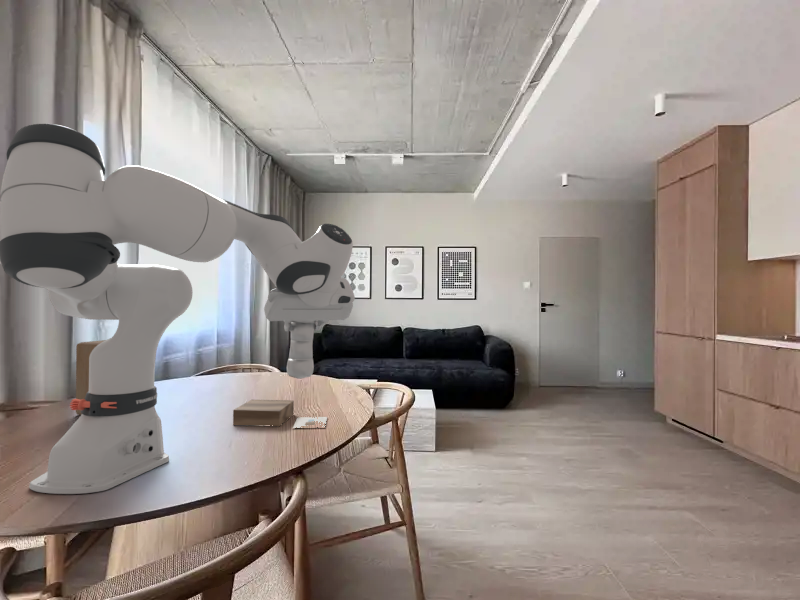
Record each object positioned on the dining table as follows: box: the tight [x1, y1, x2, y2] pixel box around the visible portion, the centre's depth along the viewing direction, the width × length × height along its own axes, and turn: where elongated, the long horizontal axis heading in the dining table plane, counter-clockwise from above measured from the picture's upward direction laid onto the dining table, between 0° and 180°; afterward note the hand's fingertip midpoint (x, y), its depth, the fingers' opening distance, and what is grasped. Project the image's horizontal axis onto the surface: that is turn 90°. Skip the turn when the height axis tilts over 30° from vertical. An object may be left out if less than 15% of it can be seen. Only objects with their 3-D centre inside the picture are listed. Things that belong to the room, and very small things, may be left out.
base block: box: [232, 399, 295, 427], centre depth 119 cm, size 12×12×4 cm
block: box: [75, 339, 106, 416], centre depth 125 cm, size 10×10×20 cm
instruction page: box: [292, 416, 328, 429], centre depth 116 cm, size 10×8×1 cm
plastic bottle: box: [286, 320, 317, 380], centre depth 108 cm, size 6×7×20 cm
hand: (302, 328), depth 109 cm, fingers closed on plastic bottle, 6 cm apart
